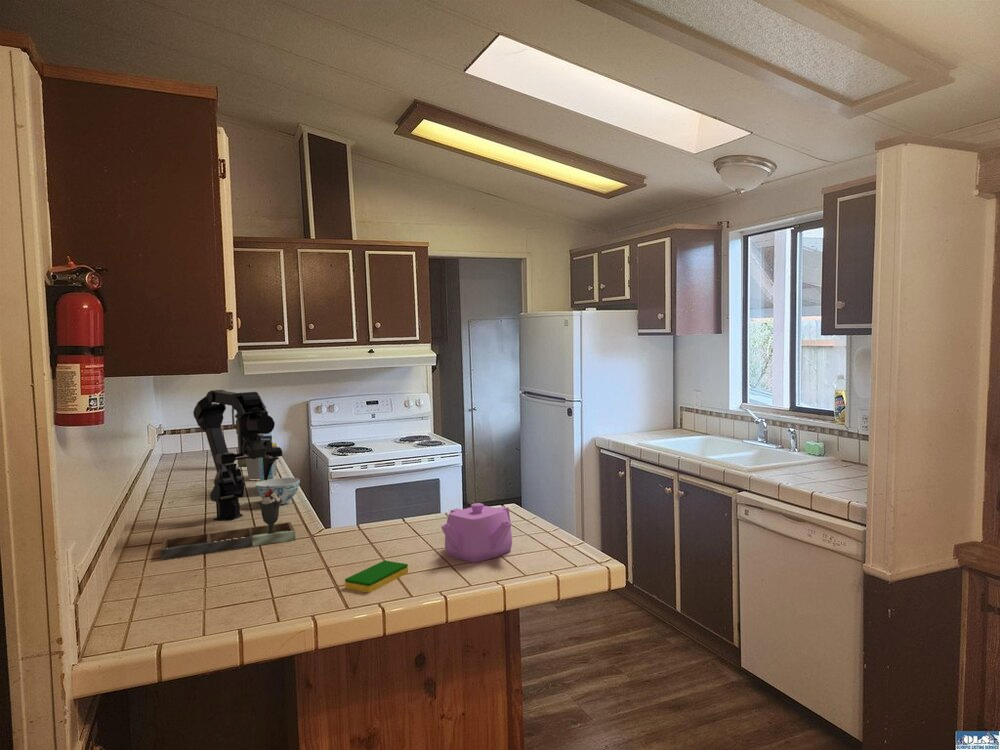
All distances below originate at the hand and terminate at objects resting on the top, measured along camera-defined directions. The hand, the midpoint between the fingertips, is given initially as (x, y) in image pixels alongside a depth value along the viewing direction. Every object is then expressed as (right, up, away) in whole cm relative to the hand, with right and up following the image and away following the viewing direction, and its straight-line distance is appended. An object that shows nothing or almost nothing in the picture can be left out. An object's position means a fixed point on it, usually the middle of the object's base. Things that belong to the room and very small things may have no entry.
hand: (251, 482), depth 196 cm
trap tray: (+2, -14, -21) cm, 25 cm away
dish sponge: (+50, -13, -54) cm, 74 cm away
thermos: (-44, -12, +108) cm, 118 cm away
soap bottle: (-26, -12, +80) cm, 85 cm away
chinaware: (-2, -13, +29) cm, 32 cm away
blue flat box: (-14, -12, +52) cm, 55 cm away
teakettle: (+72, -12, -37) cm, 82 cm away
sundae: (+12, -13, -16) cm, 24 cm away
